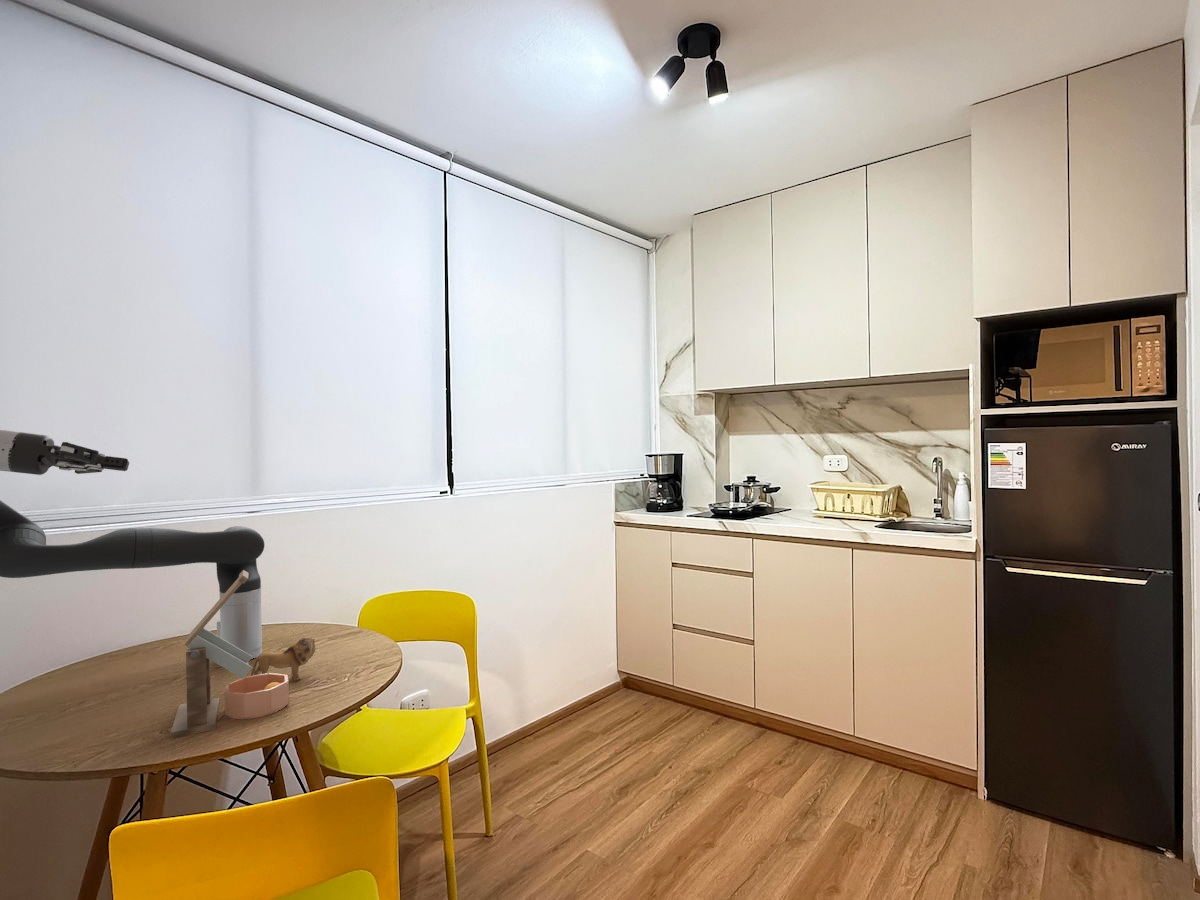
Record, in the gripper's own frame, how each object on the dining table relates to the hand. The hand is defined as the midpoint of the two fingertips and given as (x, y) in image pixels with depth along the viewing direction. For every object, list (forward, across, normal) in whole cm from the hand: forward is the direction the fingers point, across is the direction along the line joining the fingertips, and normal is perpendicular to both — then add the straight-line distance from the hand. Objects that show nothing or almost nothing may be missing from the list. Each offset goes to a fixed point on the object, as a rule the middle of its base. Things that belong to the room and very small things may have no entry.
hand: (127, 465), depth 125 cm
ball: (+33, -8, -42) cm, 54 cm away
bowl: (+30, -9, -45) cm, 55 cm away
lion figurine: (+34, -24, -39) cm, 58 cm away
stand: (+20, -9, -47) cm, 52 cm away
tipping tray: (+21, -6, -35) cm, 41 cm away
